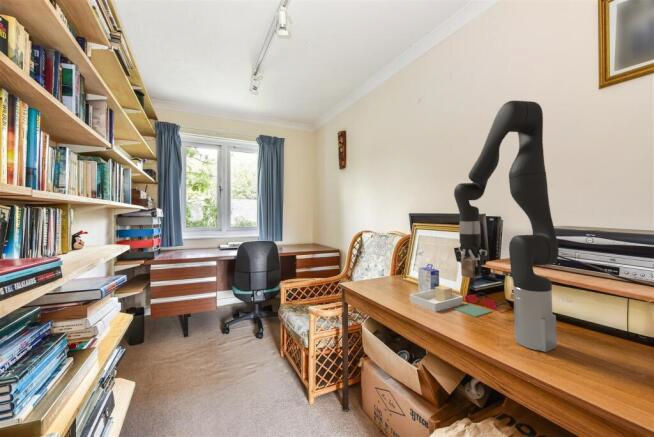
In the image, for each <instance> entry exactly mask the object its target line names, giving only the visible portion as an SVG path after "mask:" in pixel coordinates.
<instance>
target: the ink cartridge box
mask: <svg viewBox="0 0 654 437" xmlns="http://www.w3.org/2000/svg"><path fill="white" fill-rule="evenodd" d="M433 266H434V265H433V264H431V263H427V265H426V266H423V267H418V269H417V272H418V274H417V275H418V278H417V280H418V281H417V282H418V283H417V284H418V292H423V291H428V290H432V289H435V287H438V286H440V270H438V269H434V268H433Z"/></svg>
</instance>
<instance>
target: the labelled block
mask: <svg viewBox="0 0 654 437" xmlns="http://www.w3.org/2000/svg"><path fill="white" fill-rule="evenodd" d="M477 262H478V260H477ZM460 268H461V270H460V271H461V272H460V273H461V276H462V277H465V278H468V279H469V278H471V279H475V278H480V277H482V273H481V274H480V275H479V276H476V275H475V264H474V261H472V258H470V257H469V258H466V259H461V263H460Z"/></svg>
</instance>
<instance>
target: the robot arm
mask: <svg viewBox="0 0 654 437" xmlns="http://www.w3.org/2000/svg"><path fill="white" fill-rule="evenodd" d="M543 115H544V113H543V109H542V107H541V105H540V103H538V102H537V101H536V102H535V101H530V100H528V101H527V100H509V101H506V102H505V103H504V104H503V105H502V106H501V107H500V108H499V109H498V111H497V113H496V115H495V117H494V119H493V122H492V125H491V127H490V129H489V132H488V135H487V137H486V139H485V142H484V144H483V146H482V147H483V148H482V150H481V152H480V154H479V156H478V158H477V160H476V161H475V163H474V165H473V166H472V168H471V170H470V171H469V173H468V179H469V180H470V181H471V182H462V183H459V184H457V185H456V186H455V187H454V190H453V196H454V200H455V202H456V205H457V209H458V211H459V216H458V217H459V224H458V226H459V228H458V230H459V237H458V238H459V244H460V246H459V247H458V246H457V247H453V251H454V255H455V260H456V262H457V263H458V262H459V263H460V264H461V259H466V258H472V261H474V264H475V275H476V276H479V275H480V274H481V275H482V266H486V265H487V260H488V256H489V250H487V249H486V250H485V249H482V247H481V243H482V242H481V238H482V237H481V223H480V210H479V208H478V206H474V205H471V202H470V201H477V200H479V199H481V198H482V197H483V196H484V194H485V192H486V188H487V185H488V181H489V179H490V178H491V176H492V175H493V174H494V172H495V170H496V169H497V167H498V165H499V162H500V149H501V144H502V142H503V140H504V139H506V138H505V137H506V136H507V135H508V134H509V133H517V135H518V144H519V145H518V152H517V154H516V157H515V158H514V160H513V162H512V164H511V167H510V168H509V171H508V172H509V173H508V183H509V192H510V195H511V197H512V199H513V200H514V201H515V203H516V204H517V205H518V207H519V208H520V209H521V210H522V211H523V212H524V213H525V215H526V216H527V217H528V220H529V222H530V225H531V226H530V227H531V229H532V234H518V235H515V236H513V237H512V238H511V239H510V241H509V243H508V244H509V246H508V250H509V252H508V253H509V265H510V273H511V274H510V275H511V278H512V283H513V284H512V286H513V288H512V289H513V300H514V302H513V313H514V314H513V319H514V341H515V342H516V343H517V344H519V345H520V346H523V347H525V348H528V349H531V350H535V351H541V352H543V353H548V352H550V351H552V350H554V349H556V348H557V346H558V344H557V340H558V339H557V316H556V314H553V286H552V285H553V284H552V281H551V279H549V278H548V277H545V276H542V275H538V274H536V273H535V272H534V268H533V267H534V266H550V265H554V264H555V263H556V262H557V260H558V258H559V254H560V253H559V252H560V251H559V244H558V238H557V234H556V231H555V230H556V229H555V226H554V222H553V218H552V213H551V206H550V201H549V200H550V199H549V190H548V188H549V187H548V178H547V173H546V164H545V155H544V154H545V153H544V143H543V142H544V141H543V140H544V139H543V137H544V136H543V134H544V133H543V132H544V131H543V130H544V117H543ZM477 260H478V262H477Z"/></svg>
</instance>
